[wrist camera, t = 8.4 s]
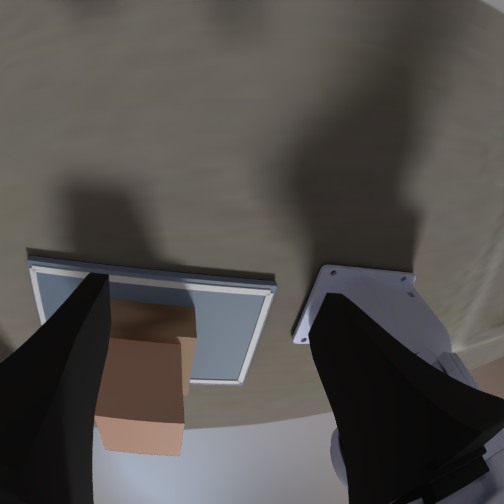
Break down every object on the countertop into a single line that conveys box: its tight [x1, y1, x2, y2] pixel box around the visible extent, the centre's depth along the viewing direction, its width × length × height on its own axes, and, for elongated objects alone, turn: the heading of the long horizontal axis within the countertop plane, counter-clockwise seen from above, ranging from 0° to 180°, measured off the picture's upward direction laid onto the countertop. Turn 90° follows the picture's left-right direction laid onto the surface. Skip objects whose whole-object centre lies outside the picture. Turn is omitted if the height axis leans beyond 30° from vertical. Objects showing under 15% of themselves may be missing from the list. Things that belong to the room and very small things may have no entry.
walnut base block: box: [110, 299, 197, 396], centre depth 22 cm, size 7×7×3 cm
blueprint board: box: [27, 255, 277, 385], centre depth 24 cm, size 18×12×1 cm, turn 77°
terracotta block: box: [94, 338, 185, 456], centre depth 19 cm, size 5×5×6 cm
